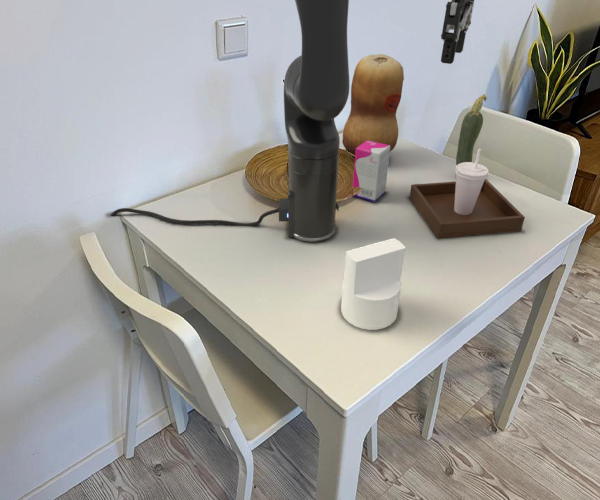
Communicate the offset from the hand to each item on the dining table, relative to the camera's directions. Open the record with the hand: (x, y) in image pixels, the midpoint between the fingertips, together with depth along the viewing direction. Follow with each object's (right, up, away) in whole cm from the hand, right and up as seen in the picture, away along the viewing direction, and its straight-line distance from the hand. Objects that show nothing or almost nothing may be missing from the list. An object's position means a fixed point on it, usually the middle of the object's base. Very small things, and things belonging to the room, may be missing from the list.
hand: (451, 57), depth 97 cm
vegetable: (+10, -19, +26) cm, 33 cm away
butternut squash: (-11, -13, +34) cm, 38 cm away
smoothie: (+6, -28, +11) cm, 31 cm away
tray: (+6, -29, +12) cm, 31 cm away
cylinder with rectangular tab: (-18, -46, -14) cm, 51 cm away
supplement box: (-13, -24, +18) cm, 33 cm away
